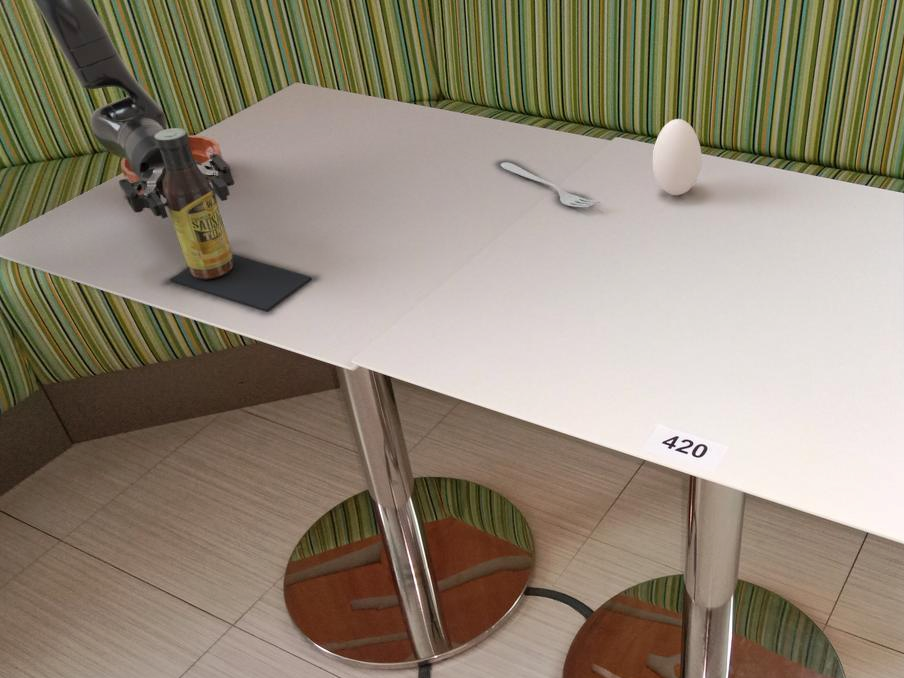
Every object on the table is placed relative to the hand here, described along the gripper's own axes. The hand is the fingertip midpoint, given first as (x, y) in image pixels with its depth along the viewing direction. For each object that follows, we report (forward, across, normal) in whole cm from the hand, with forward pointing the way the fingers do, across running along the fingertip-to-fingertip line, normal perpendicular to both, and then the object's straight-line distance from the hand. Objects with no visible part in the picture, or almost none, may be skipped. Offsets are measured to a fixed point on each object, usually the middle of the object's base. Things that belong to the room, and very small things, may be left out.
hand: (193, 202), depth 128 cm
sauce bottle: (-2, 0, +12) cm, 12 cm away
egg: (+20, +66, +12) cm, 70 cm away
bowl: (-34, +4, +12) cm, 36 cm away
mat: (+2, +2, +12) cm, 12 cm away
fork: (+5, +51, +12) cm, 53 cm away
